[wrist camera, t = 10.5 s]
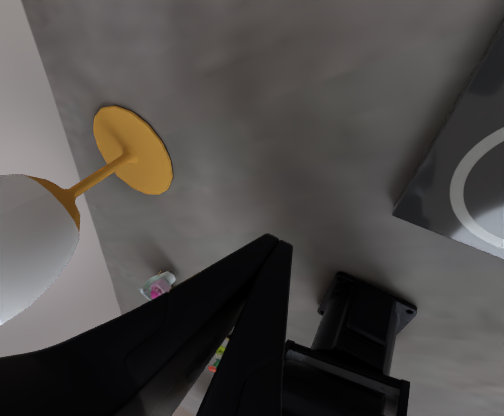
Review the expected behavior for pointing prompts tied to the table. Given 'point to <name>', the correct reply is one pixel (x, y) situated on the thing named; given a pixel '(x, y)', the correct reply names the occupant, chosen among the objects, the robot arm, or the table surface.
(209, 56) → the table surface
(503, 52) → the hob
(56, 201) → the cup
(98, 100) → the table surface
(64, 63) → the table surface
